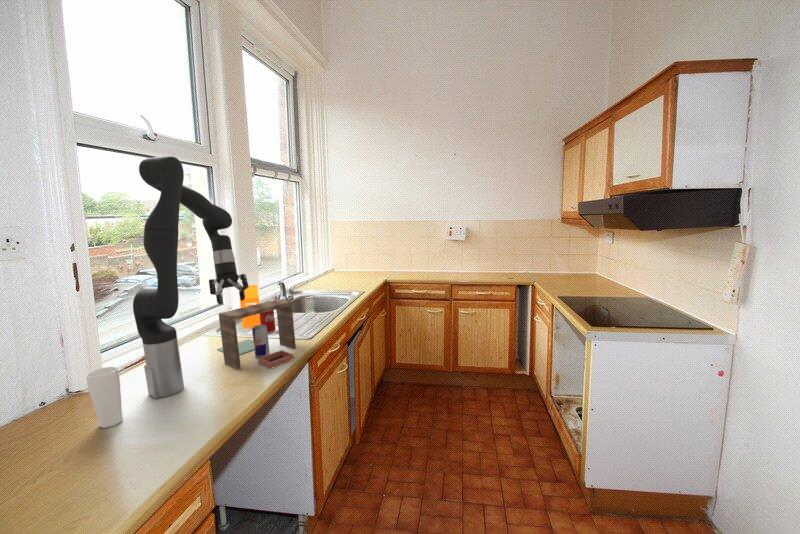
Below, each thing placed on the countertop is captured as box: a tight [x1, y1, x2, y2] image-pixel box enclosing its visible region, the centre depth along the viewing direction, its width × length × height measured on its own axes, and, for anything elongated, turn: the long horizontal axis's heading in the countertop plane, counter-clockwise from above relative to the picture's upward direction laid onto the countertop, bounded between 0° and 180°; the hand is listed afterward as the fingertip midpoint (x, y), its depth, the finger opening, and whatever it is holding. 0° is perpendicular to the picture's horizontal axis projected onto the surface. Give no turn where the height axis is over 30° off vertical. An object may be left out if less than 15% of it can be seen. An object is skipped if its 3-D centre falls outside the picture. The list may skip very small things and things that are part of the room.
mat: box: [216, 339, 255, 356], centre depth 160 cm, size 14×14×1 cm
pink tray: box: [257, 349, 295, 369], centre depth 144 cm, size 10×8×2 cm
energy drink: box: [251, 325, 271, 359], centre depth 149 cm, size 5×5×12 cm
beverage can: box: [259, 310, 276, 335], centre depth 179 cm, size 6×6×12 cm
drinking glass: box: [86, 366, 124, 429], centre depth 105 cm, size 7×7×15 cm
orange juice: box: [238, 284, 261, 329], centre depth 191 cm, size 8×9×20 cm
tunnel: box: [218, 298, 297, 371], centre depth 149 cm, size 25×9×20 cm, turn 140°
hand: (231, 302), depth 153 cm, fingers open, 8 cm apart
